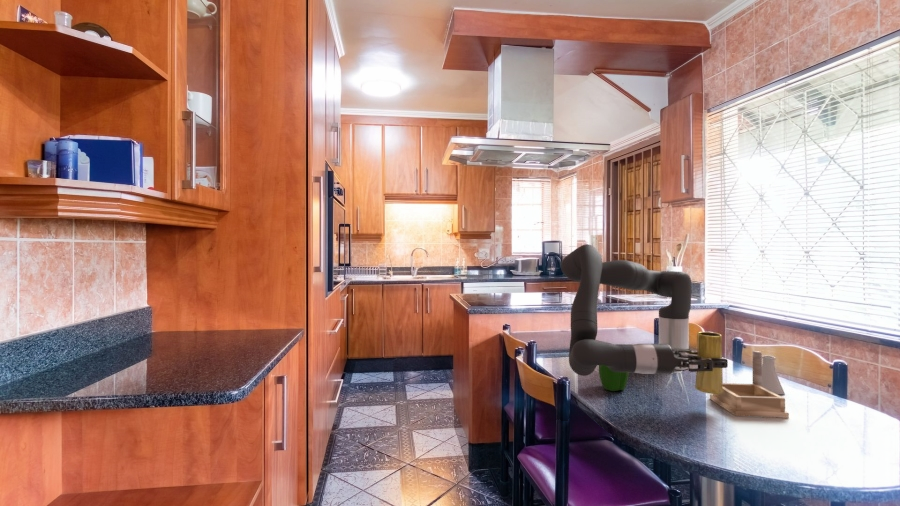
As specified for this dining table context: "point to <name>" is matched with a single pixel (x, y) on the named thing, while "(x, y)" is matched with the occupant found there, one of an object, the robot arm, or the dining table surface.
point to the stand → (751, 396)
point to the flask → (770, 376)
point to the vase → (708, 348)
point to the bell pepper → (612, 378)
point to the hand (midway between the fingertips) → (719, 359)
